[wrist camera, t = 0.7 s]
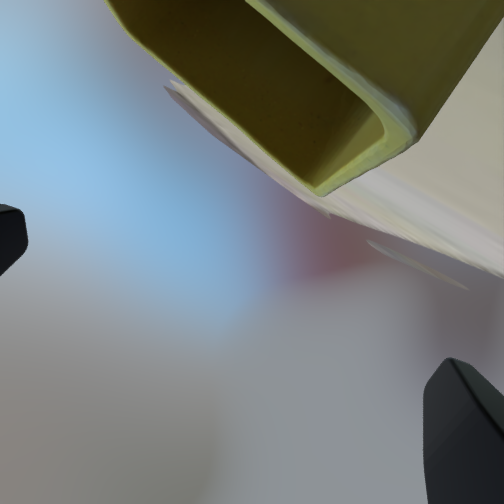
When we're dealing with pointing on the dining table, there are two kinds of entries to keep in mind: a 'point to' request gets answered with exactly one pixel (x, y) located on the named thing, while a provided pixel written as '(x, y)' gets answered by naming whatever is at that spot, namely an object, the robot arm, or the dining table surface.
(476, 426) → the robot arm
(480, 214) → the dining table surface
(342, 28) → the flower pot
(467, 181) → the dining table surface
